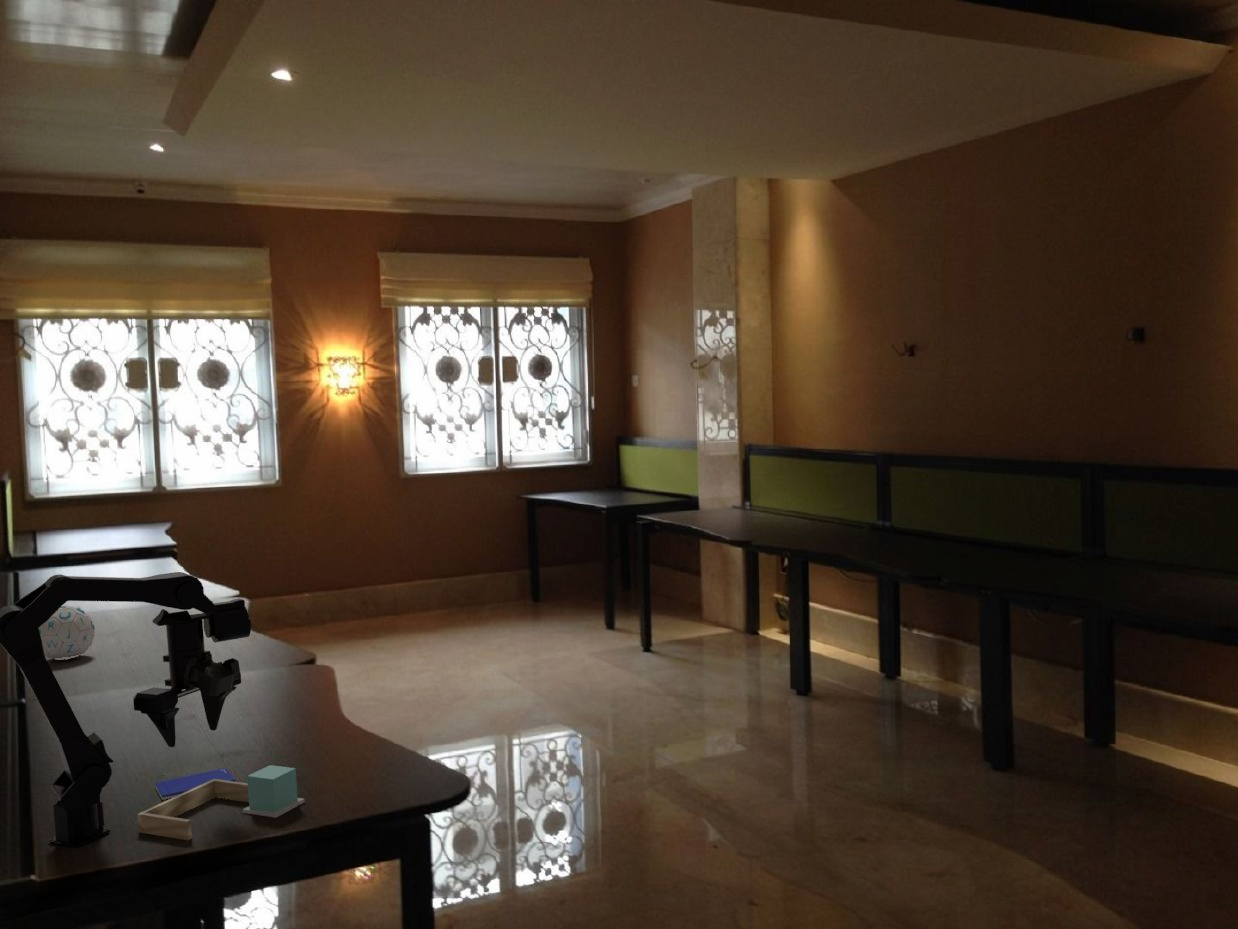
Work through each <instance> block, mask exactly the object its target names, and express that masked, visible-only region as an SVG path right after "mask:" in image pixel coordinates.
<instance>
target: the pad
mask: <svg viewBox="0 0 1238 929" xmlns="http://www.w3.org/2000/svg"><path fill="white" fill-rule="evenodd" d="M305 802H306V801H305V798H301V797H298V800H297V801H295V802H293V803H291V804H289V805H287V806H285V807H284V808H282V809H280V810H278V811H276V812H272V811H265V810H258V809H251V808H249V806H246V807H244V808H243V809H242V812H243V813H244V814H248V815H249V814H250V815H257V816H264V817H269V818H275V819H276V818H278V817H281V816H282V815H283V814H286V813H287V812H290V811H291V810H292V809H294V808H297V807H298V805H299V806H300V805H302V804H304V803H305Z"/></svg>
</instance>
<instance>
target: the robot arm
mask: <svg viewBox="0 0 1238 929" xmlns="http://www.w3.org/2000/svg"><path fill="white" fill-rule="evenodd" d="M204 590H205V589H204V586H203V583H202V581H200V580H199V578H198V577H195V576H193V575H191V574H188V573H186V572H181V571H175V572H168V573H160V574H154V575H150V576H145V577H113V576H112V577H111V576H109V577H108V576H104V577H103V576H79V575H78V576H76V575H73V576H71V575H68V576H67V575H64V574H53V575H52V576H50V577H49V578H47V579H46V581H45V582H44V583H42V584H41V585H39V586H38V587H37V588H35V589H34V590H31V591H30V592H29V593H27V594H26V595H23V597H22V598H20V599H18V601H17V602H15V603H13V604H12V605H5V606H3V607H1V608H0V645H1V646H2V648H3V649H4V650H5V651H6V652H7V654H8V655H9V656H10V657H11V659H12V660H13V661H14V662H15V663H16V665H17V666H18V668H19V670H20V672H21V673H22V675H23V677H24V679H25V681H26V683H27V684H28V686H29V689H30V690H31V692H32V694H33V696H34V698H35V700H36V702H37V703H38V705H39V707H40V709H41V712H42V713H43V715H44V717H45V719H46V721H47V723H48V724H49V727H50V728H51V730H52V732H53V734H54V736H55V738H56V739H57V744H58V749H59V754H60V758H61V761H62V765H63V771H62V772H60V774H59V775H58V776H57V778H56V779H55V780H54V781H53V782H52V784H51V786H50V787H51V789H52V791H53V793H54V795H55V797H57V798H58V801H57V802H56V803H55V804H53V805H52V808H53V809H52V810H53V820H54V832H55V834H54V836H52V837H50V838H48V841H49V840H50V841H54V842H59V843H61V844H60V845H62V844H65V845H64V846H67V845H70V846H69V847H73V846H78V847H80V846H83V845H85V844H87V843H89V842H91V841H93V840H95V839H97V838H100V837H102V836H104V835H107V834H108V833H110V832H111V828H109V827H104V826H105V817H104V804H103V801H102V800H101V792H102V789H103V788H105V787H106V785H108V782H110V779H111V776H112V775H113V774H112V773H113V770H112V769H113V768H112V766H111V763H112V764H113V763H114V760H113V758H112V757H111V756H110V755H109V754H108V753H107V750H106V747H105V743H104V740H103V739H101V737H100V736H99V735H98V734H97V733H96V732H92V733H91V734H90V735H88V736H87V734H86V733H85V732H84V730H83V728H82V726H81V725H80V723H79V721H78V718H77V717H76V715H75V713H74V710H73V709H72V707H71V705H70V703H69V701H68V699H67V698H66V696H65V693H64V692H63V690H62V688H61V686H60V684H59V682H58V680H57V678H56V676H55V674H54V673H53V670H52V669H51V667H50V664H49V662H48V661H47V658H46V656H45V654H44V649H43V644H42V640H41V636H40V632H39V629H38V628H39V627H40V626H41V625H43V624H44V623H45V622H46V621H47V620H48V619H49V618H50V617H51V616H52V615H53V614H54V613H55V612H56V611H57V610H58V609H59V608H60V607H61V606H63V605H64V604H66V603H67V602H118V603H119V602H121V603H122V602H126V603H127V602H132V603H137V602H138V603H147V604H151V605H157V606H160V607H161V606H162V607H166V608H171V609H176V610H180V611H174V612H173V611H172V612H169V611H168V610H166V609H164V608H162V609H161V610H160V612H159V613H158V615H156V616H155V618H153V619H152V623H153V624H155V625H156V626H158V627H163V626H166V627H165V628H166V630H165V631H166V639H167V640H166V641H167V653H168V654H164V655H162V660H163V661H162V662H163V663H168V667H169V678H167V679H164V686H165V687H170V688H165V687H163V688H162V687H150V688H149V689H148V688H147V689H145V690H142V691H139V692H137V693H135V695H134V697H133V700H132V701H133V711H138V712H140V713H141V714H144V715H146V716H147V717H148V718H149V719H150V721H151V722H152V724H154V725H155V727H156V729H157V730H158V732H159V734H160V735H161V737H162V739H163V740H164V742H165V743H166V745H167V746H168V747H169V748H174V747H176V739H177V738H176V721H175V719H176V718H175V717H176V715H177V713H178V712H179V710H180V707H176V706H177V704H178V703H179V698H182V697H185V696H188V695H190V694H191V695H192V694H194V693H196V692H199V691H200V696H201V700H202V704H203V708H204V713H205V717H206V721H207V725H208V727H209V730H210V731H216V730H217V729H218V725H219V721H220V718H221V714H222V711H223V707H224V704H225V701H226V699H227V697H229V695H230V694H231V693H232V692H233V691H235V690H236V689H237V686H238V685H241V684H242V674H241V669H240V662H239V660H238V659H236V658H233V657H232V658H229V659H225V660H224V661H223V662H222V661H219V662H215V661H213V655H212V653H211V651H210V650H206V649H205V637H206V639H207V638H208V639H210V638H211V640H212V642H214V643H215V644H216V643H221V642H227V641H232V640H238V639H243V638H249V637H250V635H251V630H252V621H251V618H250V615H249V611H248V608H247V607H246V601H245V600H244V599H243V598H234V599H232V600H226V601H222V602H213V600H211V599H210V598H209V597H208V596H207V595H206V593H205V591H204ZM192 609H194V610H197V611H199V612H200V613H195V614H194V613H193V614H191V613H190V612H189V611H188V610H192ZM204 635H205V636H204ZM86 842H87V843H86Z"/></svg>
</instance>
